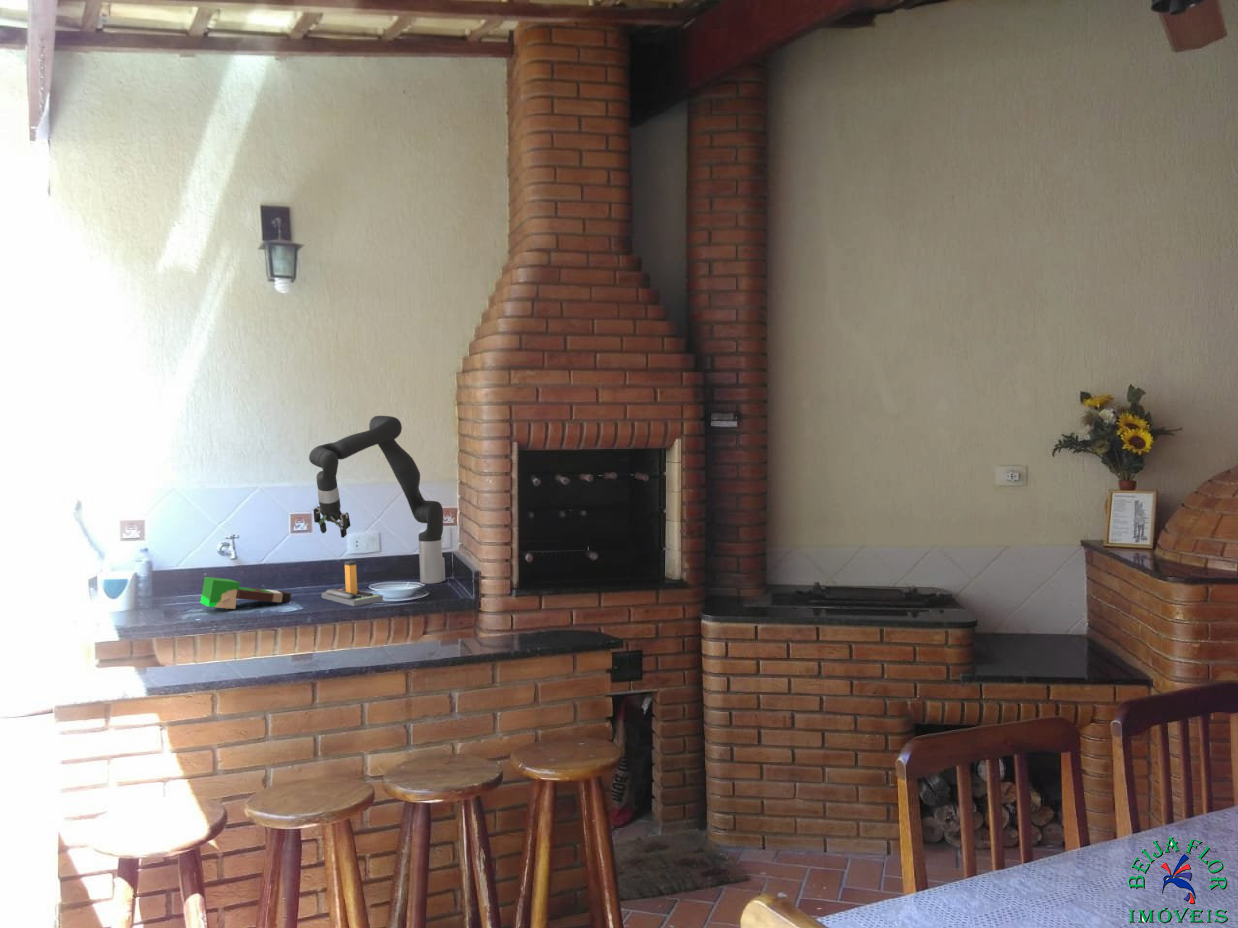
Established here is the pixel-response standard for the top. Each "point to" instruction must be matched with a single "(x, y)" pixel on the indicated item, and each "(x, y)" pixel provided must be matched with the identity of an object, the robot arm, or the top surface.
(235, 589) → the toy
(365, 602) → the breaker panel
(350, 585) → the lever
